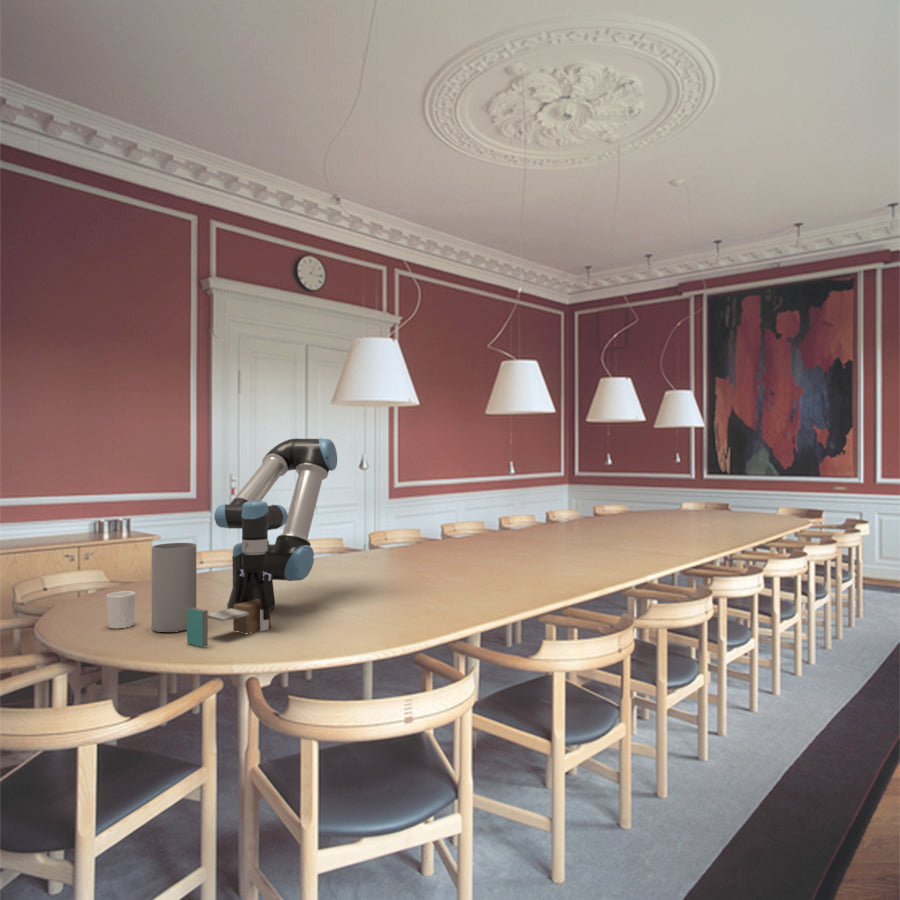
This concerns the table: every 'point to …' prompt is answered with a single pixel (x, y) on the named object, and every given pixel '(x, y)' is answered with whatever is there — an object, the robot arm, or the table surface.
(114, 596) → the white cup
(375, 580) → the table surface
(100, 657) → the table surface
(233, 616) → the wood block with tab
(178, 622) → the cylinder vase
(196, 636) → the tile
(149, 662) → the table surface
